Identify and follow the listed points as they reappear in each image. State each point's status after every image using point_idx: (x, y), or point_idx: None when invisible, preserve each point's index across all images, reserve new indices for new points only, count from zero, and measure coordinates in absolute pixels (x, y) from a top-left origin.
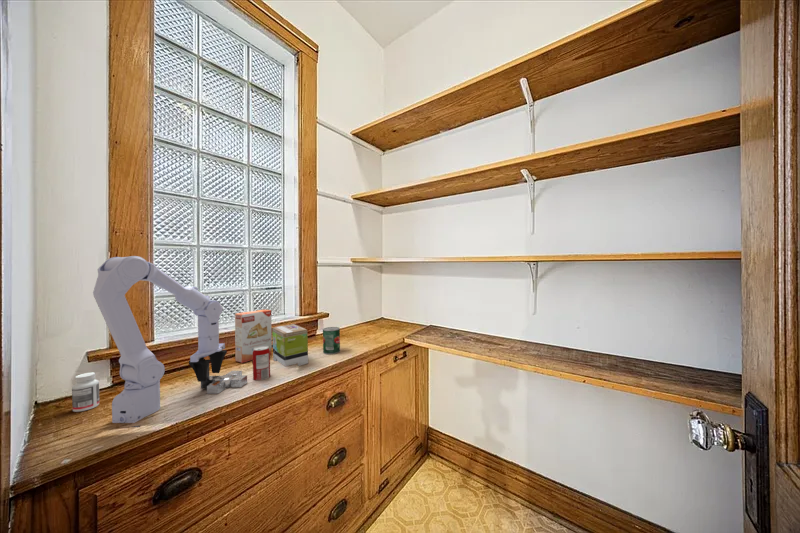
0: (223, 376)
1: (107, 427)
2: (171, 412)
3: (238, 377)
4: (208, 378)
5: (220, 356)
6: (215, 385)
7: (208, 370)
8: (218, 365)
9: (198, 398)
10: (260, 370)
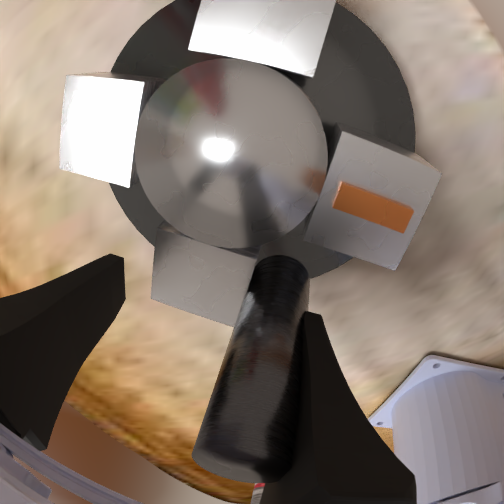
0: (184, 190)
1: None
2: (469, 330)
3: (259, 16)
4: (285, 302)
5: (15, 349)
6: (425, 199)
7: (271, 362)
8: (82, 298)
9: (360, 271)
10: None
